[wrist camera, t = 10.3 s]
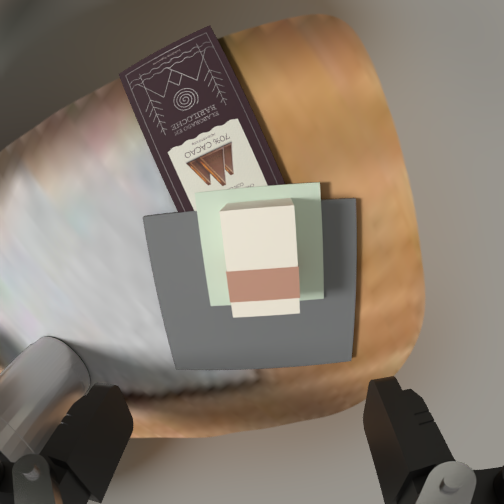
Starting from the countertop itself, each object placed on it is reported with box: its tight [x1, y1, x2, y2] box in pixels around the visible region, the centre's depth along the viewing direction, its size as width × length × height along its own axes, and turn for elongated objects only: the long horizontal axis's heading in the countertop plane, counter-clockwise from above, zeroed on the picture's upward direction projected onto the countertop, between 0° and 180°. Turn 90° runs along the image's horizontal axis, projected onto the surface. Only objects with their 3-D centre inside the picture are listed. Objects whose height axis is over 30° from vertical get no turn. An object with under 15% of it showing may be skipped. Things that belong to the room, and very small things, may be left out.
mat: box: [143, 182, 357, 370], centre depth 27 cm, size 18×18×1 cm
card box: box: [219, 198, 300, 318], centre depth 24 cm, size 8×5×4 cm, turn 5°
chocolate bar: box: [119, 26, 285, 213], centre depth 24 cm, size 9×1×18 cm
